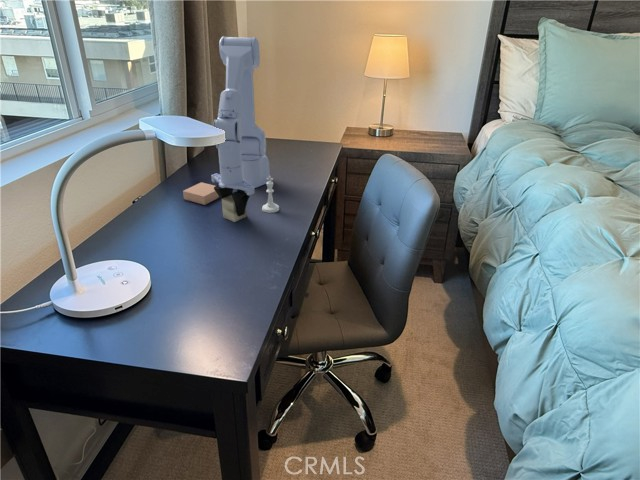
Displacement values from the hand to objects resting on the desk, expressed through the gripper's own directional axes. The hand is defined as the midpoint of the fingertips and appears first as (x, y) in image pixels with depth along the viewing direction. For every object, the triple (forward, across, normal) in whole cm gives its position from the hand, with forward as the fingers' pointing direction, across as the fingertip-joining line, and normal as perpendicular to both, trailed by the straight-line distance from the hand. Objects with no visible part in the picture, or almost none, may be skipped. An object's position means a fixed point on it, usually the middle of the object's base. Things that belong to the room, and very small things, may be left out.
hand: (234, 212), depth 122 cm
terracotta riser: (+2, -17, +3) cm, 17 cm away
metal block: (+1, 0, 0) cm, 1 cm away
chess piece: (+2, +4, +10) cm, 11 cm away
